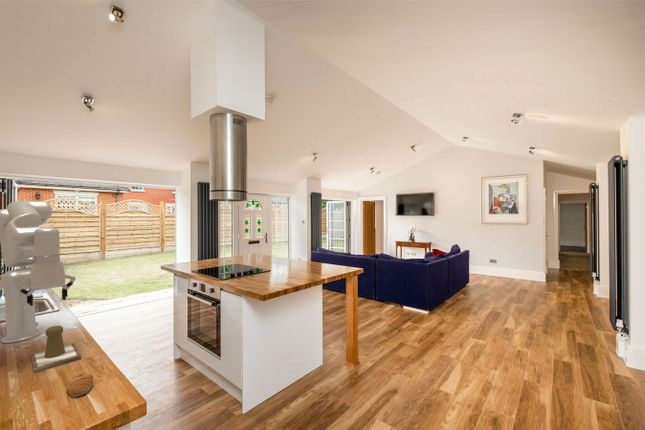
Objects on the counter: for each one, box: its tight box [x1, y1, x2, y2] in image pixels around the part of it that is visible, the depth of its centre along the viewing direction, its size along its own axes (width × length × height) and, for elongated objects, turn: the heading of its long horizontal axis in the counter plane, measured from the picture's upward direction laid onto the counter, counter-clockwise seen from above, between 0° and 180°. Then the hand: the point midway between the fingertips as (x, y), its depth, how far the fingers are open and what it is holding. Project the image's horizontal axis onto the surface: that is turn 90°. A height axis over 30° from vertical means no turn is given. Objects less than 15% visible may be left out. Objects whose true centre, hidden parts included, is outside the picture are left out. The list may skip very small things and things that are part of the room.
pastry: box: [65, 372, 94, 398], centre depth 94 cm, size 9×7×4 cm
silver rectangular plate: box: [30, 343, 82, 374], centre depth 116 cm, size 18×13×1 cm
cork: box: [44, 325, 65, 358], centre depth 116 cm, size 6×6×11 cm
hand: (47, 302), depth 118 cm, fingers open, 9 cm apart
